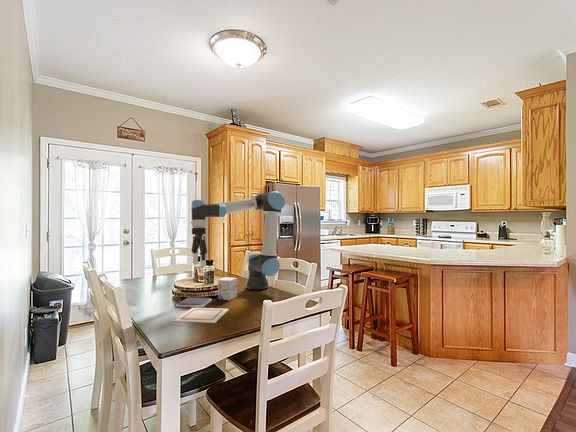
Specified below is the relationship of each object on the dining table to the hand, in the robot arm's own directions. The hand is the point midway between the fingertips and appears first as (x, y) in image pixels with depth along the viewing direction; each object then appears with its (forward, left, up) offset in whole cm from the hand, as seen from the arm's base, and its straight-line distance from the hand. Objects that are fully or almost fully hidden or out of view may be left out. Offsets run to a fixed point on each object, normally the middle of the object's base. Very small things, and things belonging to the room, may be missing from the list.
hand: (199, 265), depth 170 cm
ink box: (-12, -13, -22) cm, 28 cm away
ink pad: (+3, 0, -21) cm, 22 cm away
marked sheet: (-10, +19, -21) cm, 30 cm away
